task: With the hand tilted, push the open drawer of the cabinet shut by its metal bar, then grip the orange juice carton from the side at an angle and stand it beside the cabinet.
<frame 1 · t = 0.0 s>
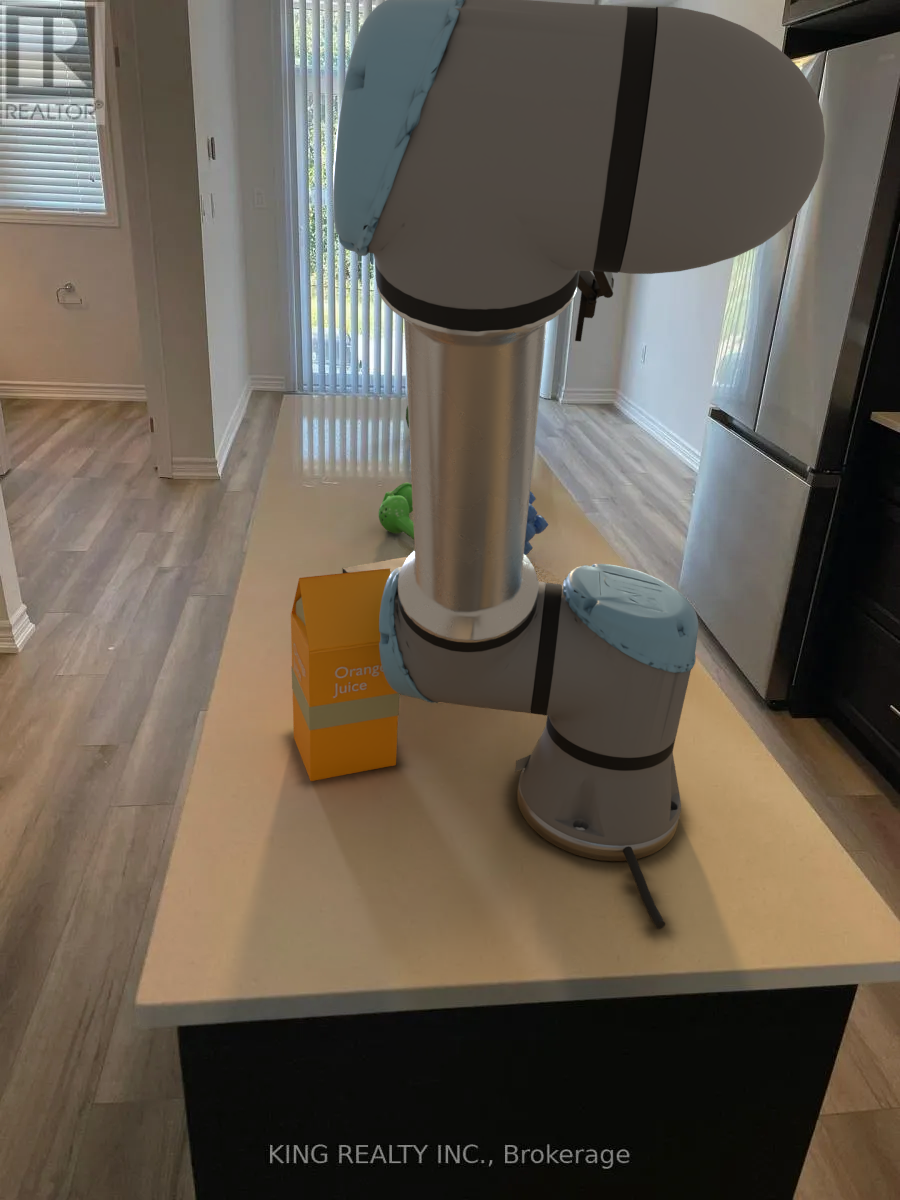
hand: (525, 328, 110), 36 cm above the counter, tool tilted 35°, fingers open, 13 cm apart
orange juice: (343, 752, 88), on the counter, touching arm
lime squeezer: (414, 526, 144), on the counter
drawer: (479, 600, 109), point 5 cm above the counter, slide at 5.0 cm
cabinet: (416, 647, 107), on the counter
grapes: (522, 560, 134), on the counter
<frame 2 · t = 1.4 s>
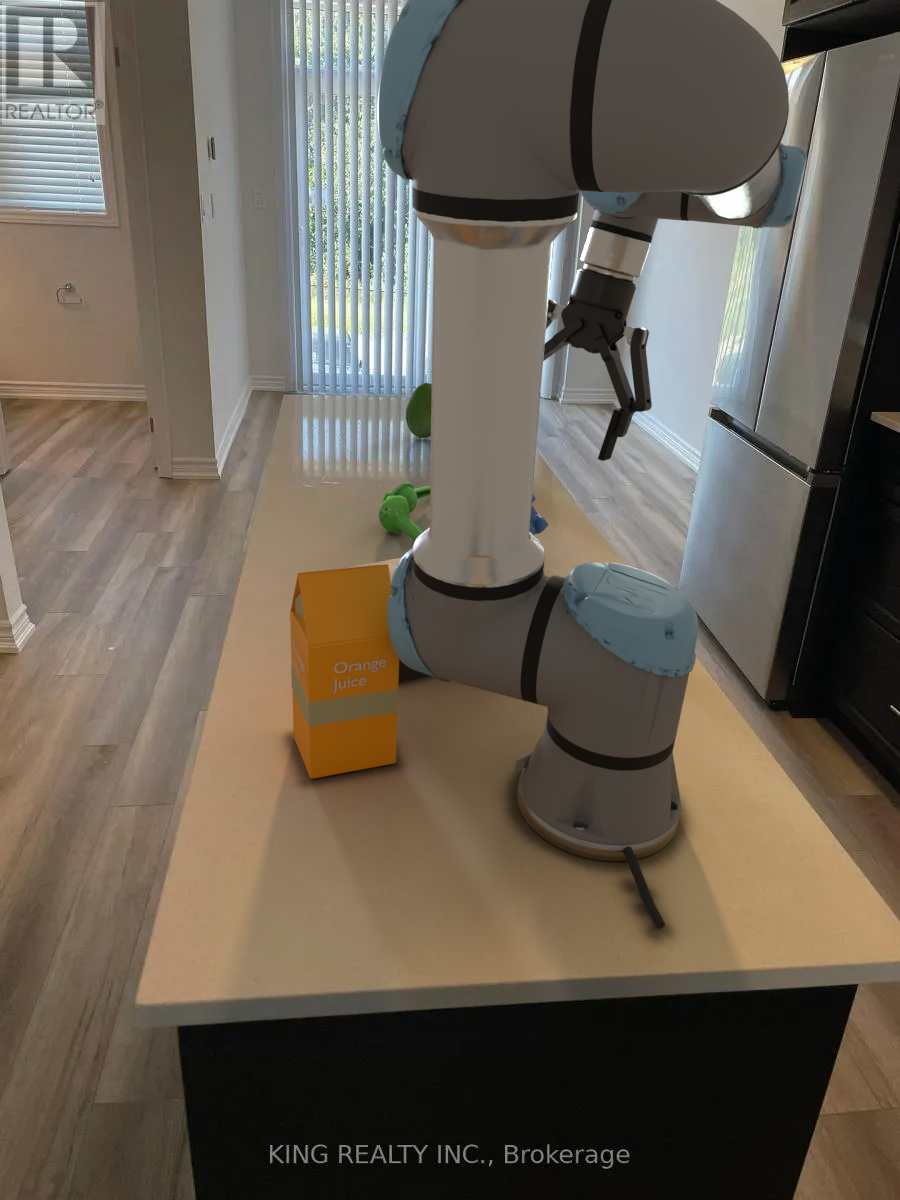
hand: (557, 441, 113), 23 cm above the counter, tool pointing down, fingers open, 13 cm apart
nothing on the counter moved.
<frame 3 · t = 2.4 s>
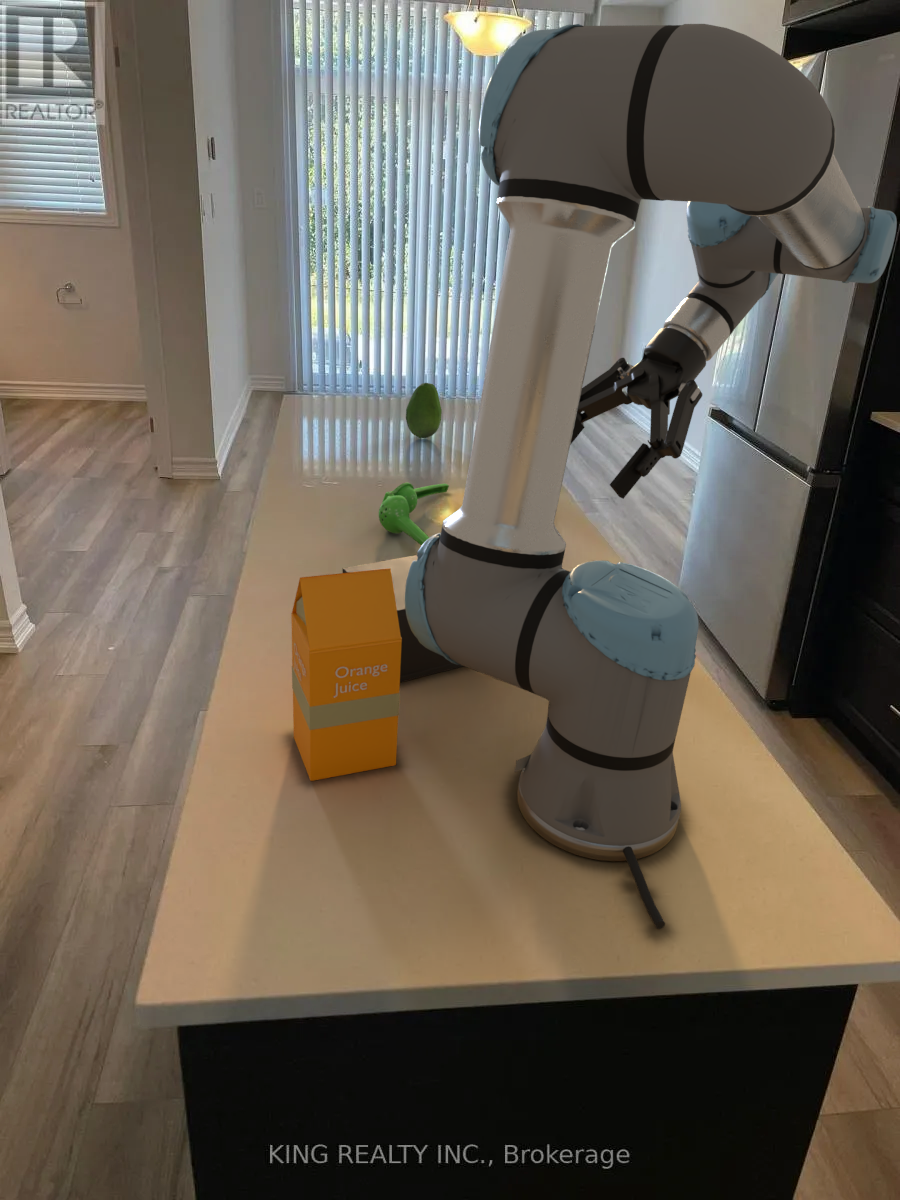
hand: (580, 474, 110), 20 cm above the counter, tool tilted 45°, fingers open, 13 cm apart
orange juice: (343, 752, 88), on the counter
everything else where it was.
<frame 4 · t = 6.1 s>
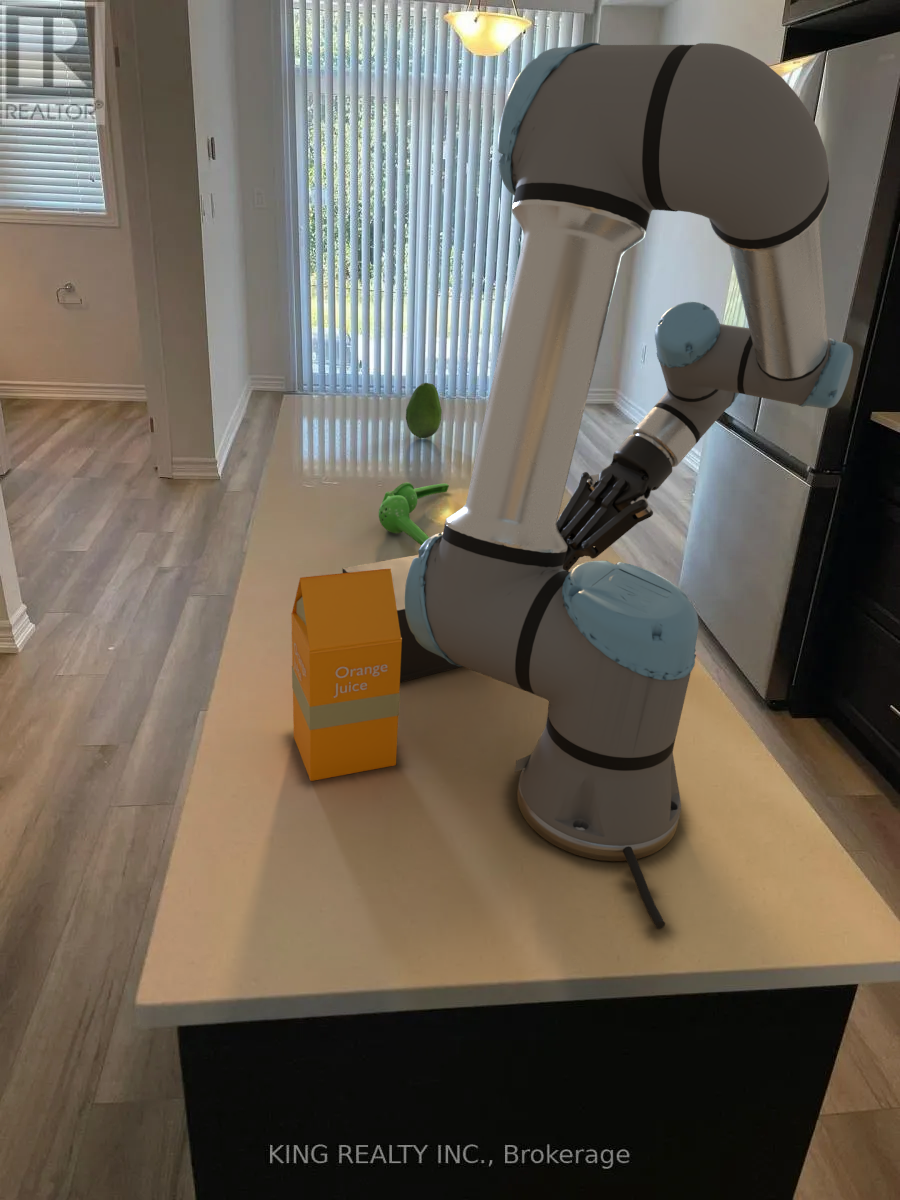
hand: (536, 585, 114), 5 cm above the counter, tool tilted 45°, fingers closed
drawer: (475, 601, 109), point 5 cm above the counter, slide at 4.5 cm, touching gripper
everything else where it was.
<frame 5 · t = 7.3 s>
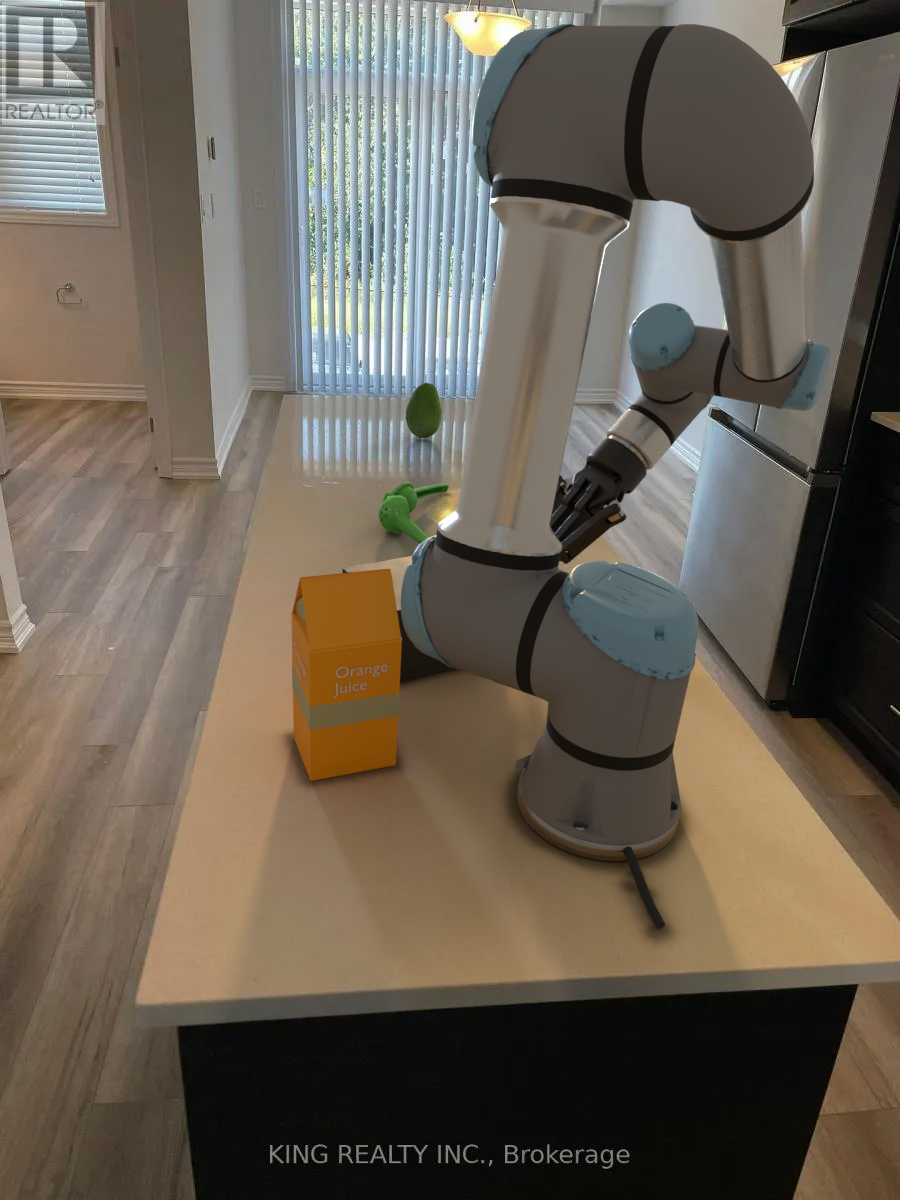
hand: (509, 591, 112), 5 cm above the counter, tool tilted 45°, fingers closed
drawer: (445, 608, 107), point 5 cm above the counter, slide at 0.0 cm, touching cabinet, gripper
everything else where it was.
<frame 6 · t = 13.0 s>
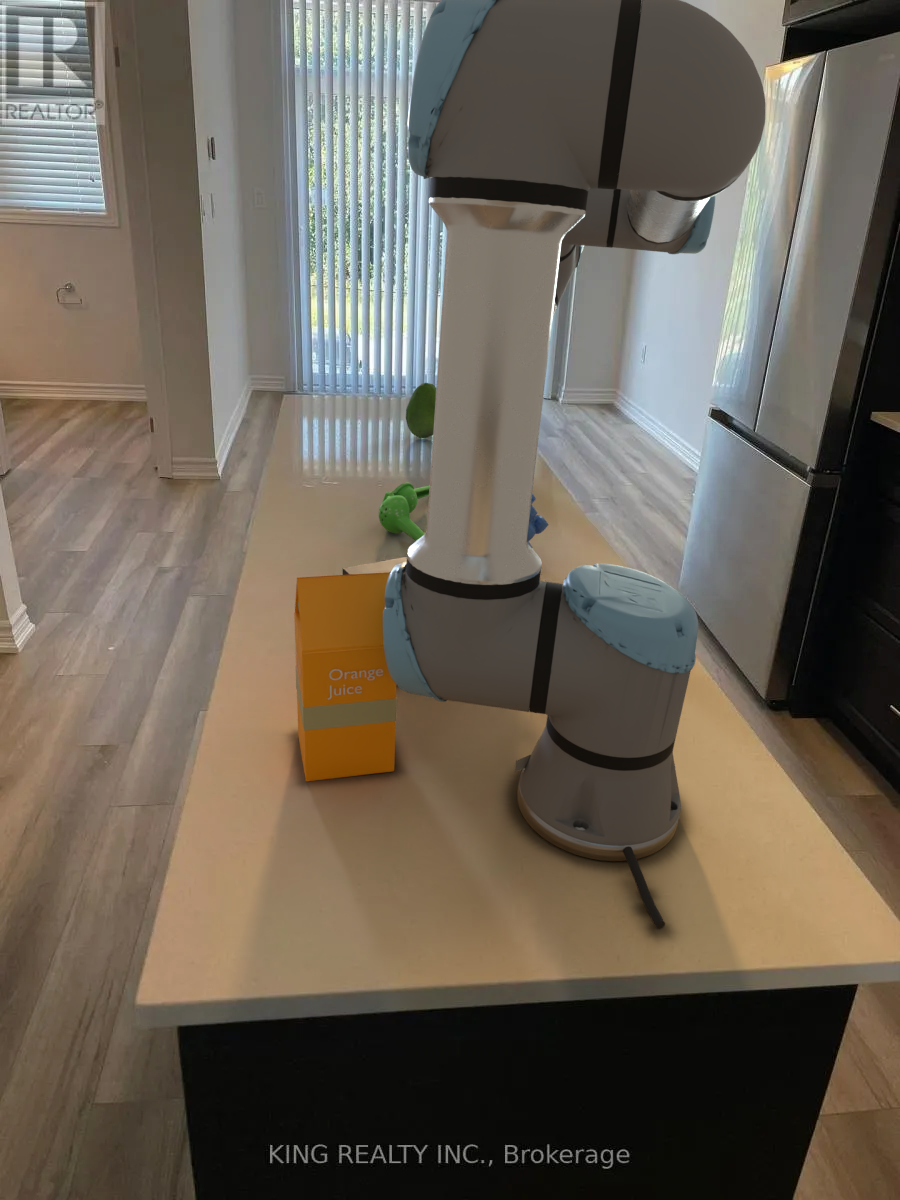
hand: (439, 492, 100), 20 cm above the counter, tool tilted 45°, fingers closed
orange juice: (344, 754, 87), on the counter, touching arm
drawer: (445, 608, 107), point 5 cm above the counter, slide at 0.0 cm, touching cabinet
everything else where it was.
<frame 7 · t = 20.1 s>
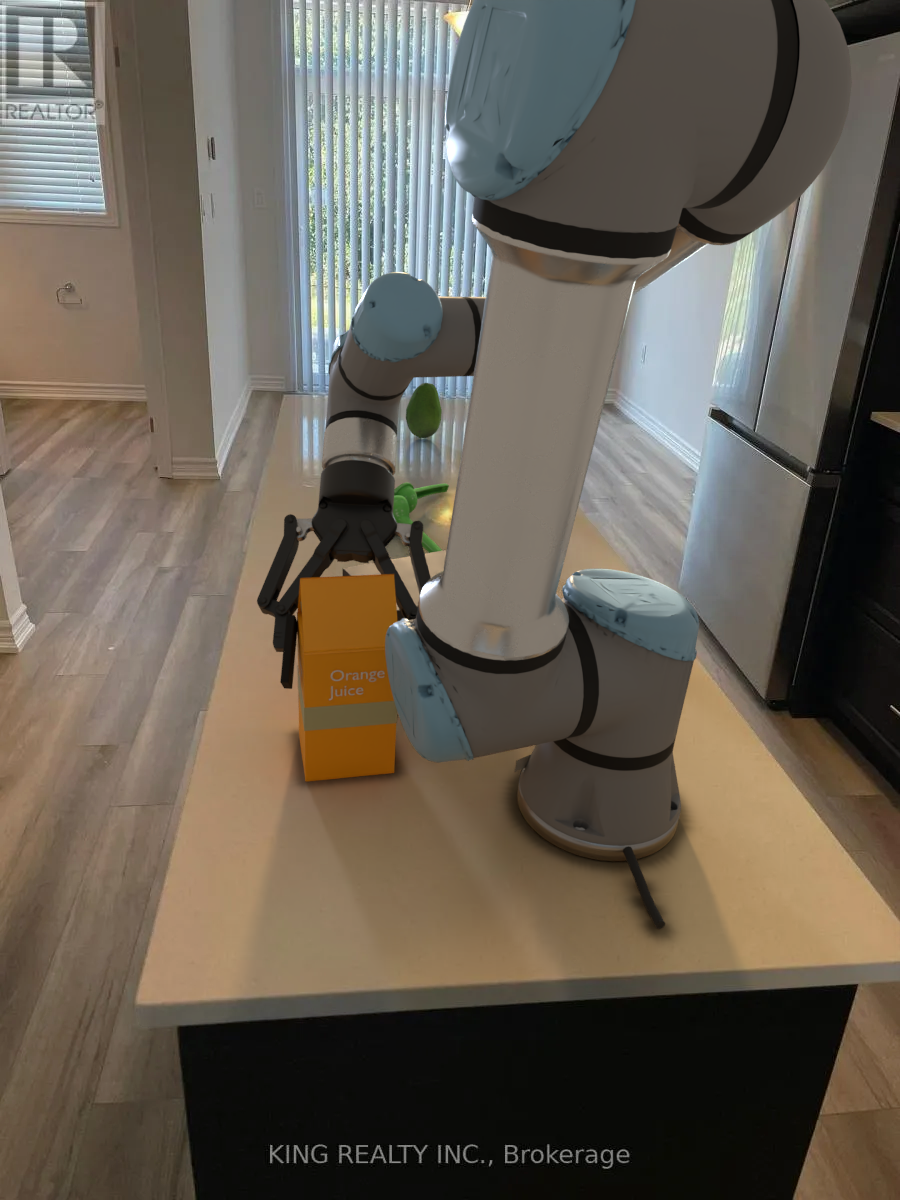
hand: (343, 687, 81), 9 cm above the counter, tool tilted 45°, fingers closed on orange juice, 10 cm apart
orange juice: (345, 755, 87), on the counter, touching gripper
everything else where it was.
when the fingers open (10 cm above the counter, at t = 27.2 s): orange juice stays where it is, on the counter.
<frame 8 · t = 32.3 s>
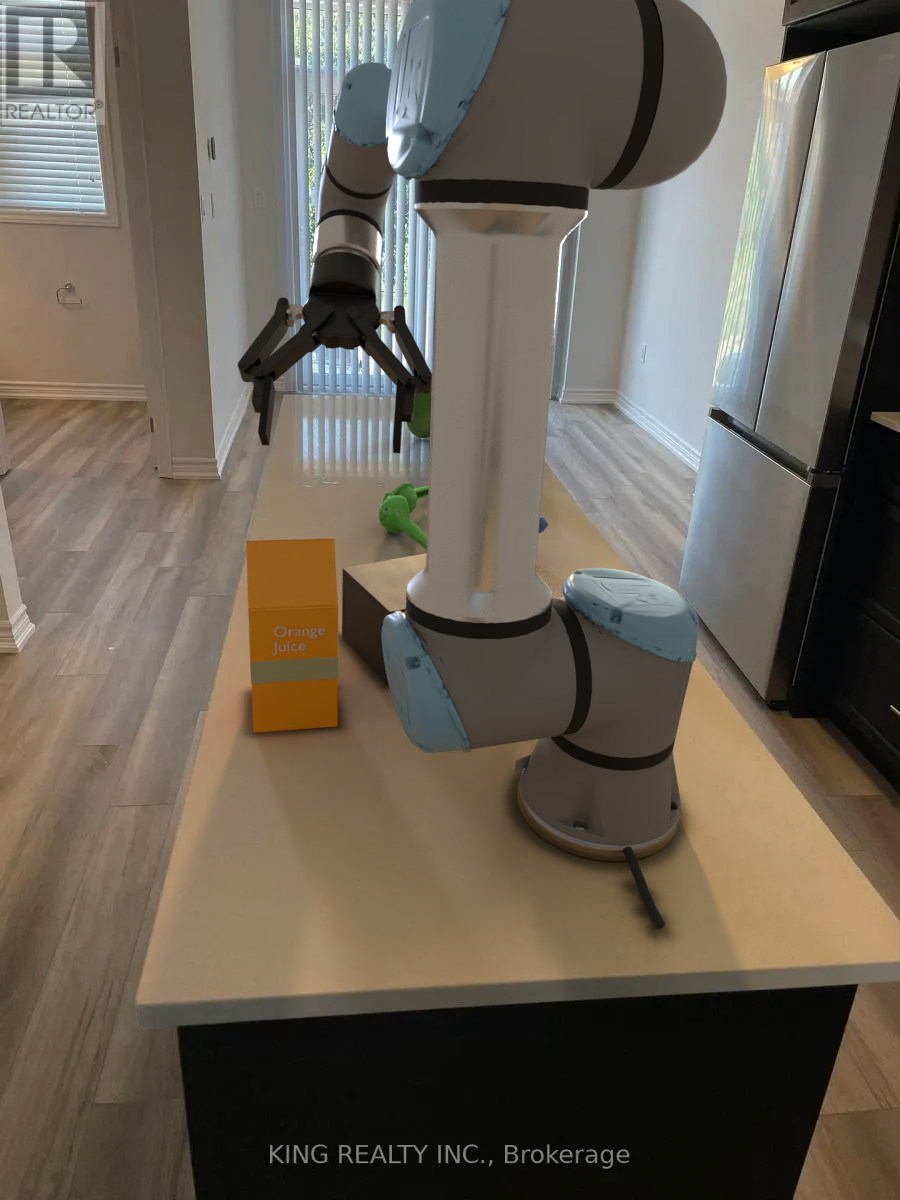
hand: (330, 443, 88), 28 cm above the counter, tool tilted 45°, fingers open, 13 cm apart
orange juice: (293, 710, 94), on the counter
everything else where it was.
at the end: drawer slide at 0.0 cm; orange juice inside the target area (0.5 cm from its centre), on the counter; orange juice tilted 0° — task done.
